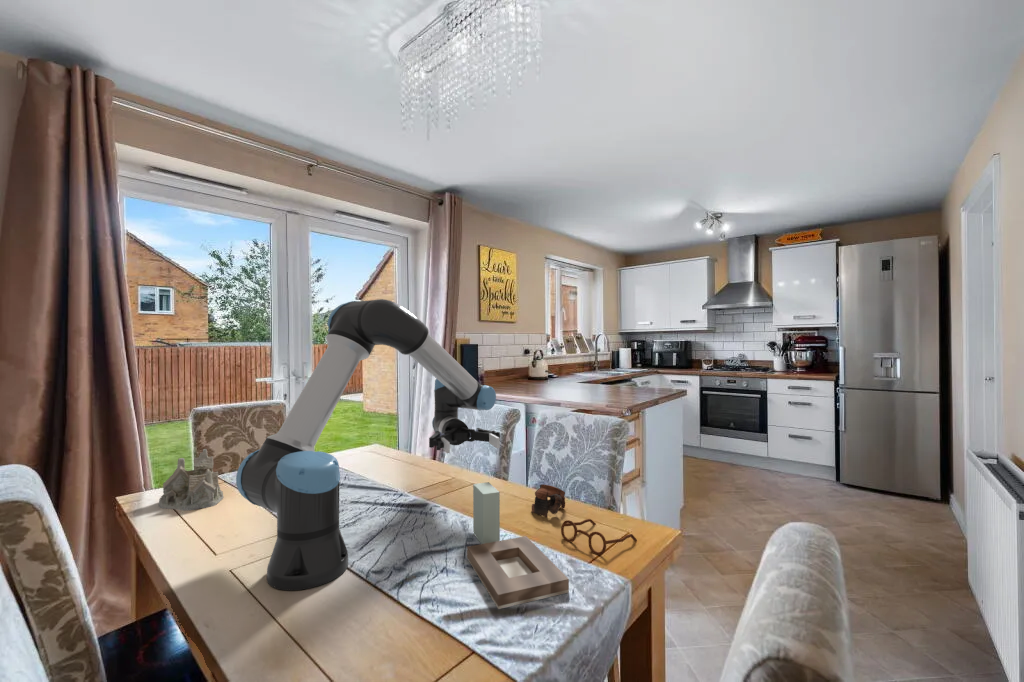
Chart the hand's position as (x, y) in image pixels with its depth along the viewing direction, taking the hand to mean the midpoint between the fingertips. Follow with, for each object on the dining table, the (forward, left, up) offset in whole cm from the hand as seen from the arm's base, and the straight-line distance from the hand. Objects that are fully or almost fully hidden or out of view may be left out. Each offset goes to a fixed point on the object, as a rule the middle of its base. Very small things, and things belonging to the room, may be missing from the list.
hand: (473, 445), depth 116 cm
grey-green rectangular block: (-5, -9, -20) cm, 22 cm away
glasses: (+11, -30, -21) cm, 38 cm away
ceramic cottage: (-41, +77, -20) cm, 89 cm away
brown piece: (+18, -11, -20) cm, 30 cm away
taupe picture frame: (-14, -24, -20) cm, 34 cm away
